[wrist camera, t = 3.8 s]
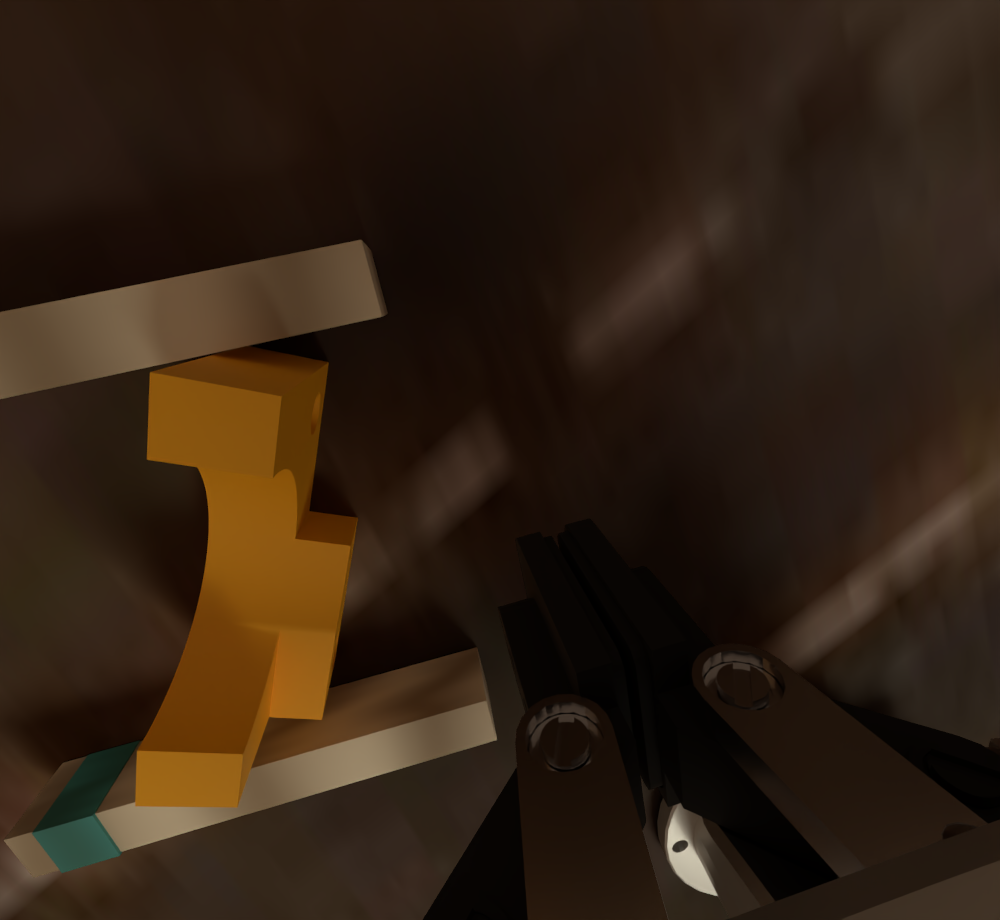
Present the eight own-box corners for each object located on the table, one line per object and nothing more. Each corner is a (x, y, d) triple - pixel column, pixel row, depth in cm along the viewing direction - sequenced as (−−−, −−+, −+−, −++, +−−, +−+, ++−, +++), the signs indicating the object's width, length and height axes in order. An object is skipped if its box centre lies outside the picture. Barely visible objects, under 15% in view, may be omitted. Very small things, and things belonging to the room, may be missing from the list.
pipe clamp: (335, 657, 20) (302, 808, 14) (222, 648, 20) (135, 806, 13) (381, 371, 17) (363, 411, 11) (248, 344, 16) (149, 372, 10)
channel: (370, 248, 16) (360, 237, 13) (486, 683, 22) (497, 743, 19) (-210, 366, 14) (-369, 383, 11) (86, 798, 20) (32, 881, 17)
